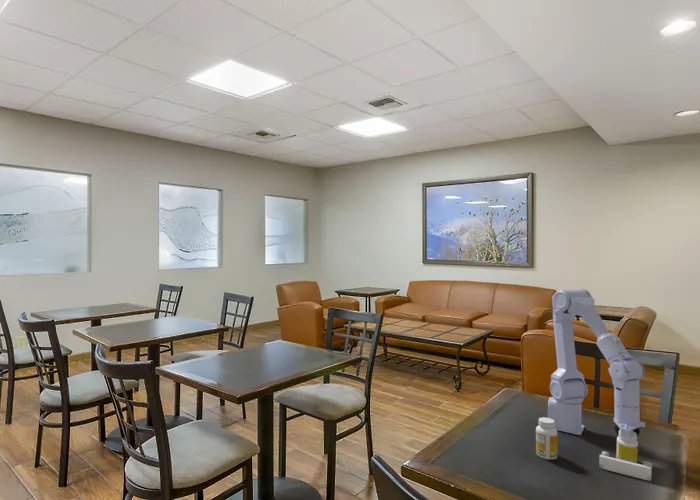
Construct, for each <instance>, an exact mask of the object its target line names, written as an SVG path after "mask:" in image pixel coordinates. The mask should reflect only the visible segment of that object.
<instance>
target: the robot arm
mask: <svg viewBox="0 0 700 500" xmlns="http://www.w3.org/2000/svg"><path fill="white" fill-rule="evenodd" d="M551 301H552V302H551V303H552V321H553V322H552V323H553V331H554V332H553V333H554V342H555V352H556V353H555V354H556V363H557V364H556V365H557V368H556V370H555V371H554V372H553V373H551V375H550V384H549V391H550V393H551V396H549V398H548V401H547V418H550V419H553V420H554V421H555V426H554V428H555V429H556V430H557V431H559V432H564V433H568V434H573V435H578V436H582V433H583V431H584V429H585V425H584V424H582V402H584V398H586V397H587V395H588V386H587V383H586V380H585V375H584V374H583V373H582V372H581V371H580V370H578V366H577V357H576V346H575V337H574V326H573V319H574V318H575V317H576V316H579V317H581V318H582V319H583V321H584V323H586V324H587V326H588V327H589V329H590V330H591V331H592V332H593V334H594V336H595V337H596V338H597V340H596V343H595V344H596V346H597V347H598V349H599V350H600V352H601V353H602V355H603V357H604V358H605V359H606V362H607V363H608V365H609V367H608V369H607V370H608V373H609V375H610V377H611V381H612V382H611V383H612V385H613V388H614V389H613V390H614V391H613V397H614V398H613V399H614V400H613V401H614V402H613V403H614V404H613V405H614V406H613V407H614V409H613V410H614V417H613V422H614V423H615V425H614V431H615V433H616V435H617V437H618V436H619V430H620V429H621V436H624V437H629V438H630V432H631V431H634V432H635V433H636V434H637V438H638V437H639V435H640V433H641V431H640V427H642V428H645V426H646V423H645V422H643V421H641V420H640V381H641V380H642V379H643V378H644V376H645V372H646V370H645V368H644V367H645V366H644V365H643V363H642V361H640V360H639V359H638V358H636V357H634V356H633V355H632V354H630V353H629V352H628V350H627V349H626V348H625V347H626V346H625V345H623V343H622V340H621V338H620V337H619V336H617V335H616V334H613V333H611V332H610V331H609V329H608V328H607V327H606V326H607V325H606V323H604V321H603V319H602V317H601V316H600V314H599V312H598V310H597V309H596V307H595V303H596V302H595V299H594V298H593V296H592V294H591V292H590V291H589V290H587V289H585V288H580V289H558V290H556V291H555V292H554V294H553V295H552V296H551Z"/></svg>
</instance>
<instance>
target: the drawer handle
mask: <svg viewBox="0 0 700 500" xmlns="http://www.w3.org/2000/svg"><path fill="white" fill-rule="evenodd" d="M598 459H599V463H598V464H599V466H598V468H599V469H602V470H606V471H610V472H614V473H618V474H621V475H625V476H629V477H633V478H637V479H641V480H645V481H648V482H652V473H653V472H652V469H653V468H652V467H653V465H652V464H653V463H652V462H650V461H648V460H643V461H642V464H640V463H638V462H637V463H633V462H628V461H624V460H620V459H616V457H612V456H611V457H610V453H609V451H606V450H605V451H604V450H602V451H601V454H599V457H598Z"/></svg>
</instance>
